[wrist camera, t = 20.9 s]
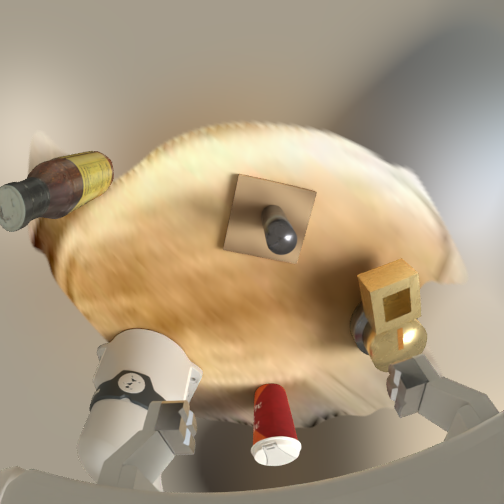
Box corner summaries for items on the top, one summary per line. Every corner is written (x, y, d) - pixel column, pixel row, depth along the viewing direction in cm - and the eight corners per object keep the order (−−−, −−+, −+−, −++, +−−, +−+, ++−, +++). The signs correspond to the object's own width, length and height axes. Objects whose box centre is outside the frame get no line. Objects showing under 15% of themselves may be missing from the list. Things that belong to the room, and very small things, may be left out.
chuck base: (393, 347, 50) (399, 357, 47) (340, 342, 49) (345, 353, 46) (419, 293, 46) (427, 302, 43) (364, 284, 45) (371, 293, 42)
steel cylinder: (285, 226, 40) (298, 253, 31) (262, 229, 40) (267, 256, 31) (283, 203, 39) (296, 223, 30) (259, 206, 39) (265, 226, 30)
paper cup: (241, 386, 51) (242, 450, 38) (283, 373, 50) (293, 438, 37) (258, 411, 54) (262, 471, 41) (296, 399, 53) (308, 460, 40)
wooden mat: (295, 261, 43) (296, 264, 42) (223, 247, 42) (223, 249, 41) (314, 191, 40) (316, 192, 39) (239, 173, 38) (238, 174, 38)
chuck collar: (413, 340, 45) (427, 358, 41) (365, 359, 46) (375, 380, 41) (407, 256, 40) (425, 271, 35) (350, 277, 41) (362, 295, 36)
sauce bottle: (74, 188, 38) (-21, 232, 19) (83, 145, 36) (-17, 163, 17) (113, 200, 39) (28, 254, 20) (123, 156, 37) (35, 180, 18)
